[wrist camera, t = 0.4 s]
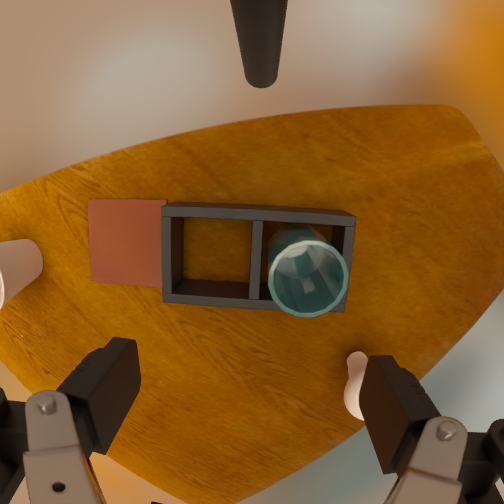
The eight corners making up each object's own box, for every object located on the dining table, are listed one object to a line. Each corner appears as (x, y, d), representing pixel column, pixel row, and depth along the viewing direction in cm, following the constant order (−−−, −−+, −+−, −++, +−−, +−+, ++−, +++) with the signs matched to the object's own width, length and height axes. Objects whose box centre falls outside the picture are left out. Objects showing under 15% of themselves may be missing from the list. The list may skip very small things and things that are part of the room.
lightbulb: (384, 339, 37) (417, 388, 26) (367, 378, 39) (392, 433, 28) (340, 331, 37) (364, 384, 26) (324, 373, 38) (341, 431, 28)
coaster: (89, 199, 34) (87, 199, 34) (167, 199, 34) (166, 199, 34) (93, 280, 37) (91, 281, 36) (167, 287, 37) (166, 288, 36)
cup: (268, 220, 34) (271, 237, 25) (328, 224, 34) (352, 242, 25) (265, 278, 36) (265, 315, 26) (322, 281, 36) (342, 318, 26)
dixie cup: (49, 231, 36) (-2, 248, 26) (52, 292, 37) (8, 321, 28) (8, 226, 36) (-41, 240, 26) (12, 282, 38) (-33, 305, 28)
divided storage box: (175, 201, 34) (161, 205, 29) (343, 210, 34) (356, 216, 29) (175, 286, 36) (162, 302, 32) (334, 295, 36) (344, 312, 31)
